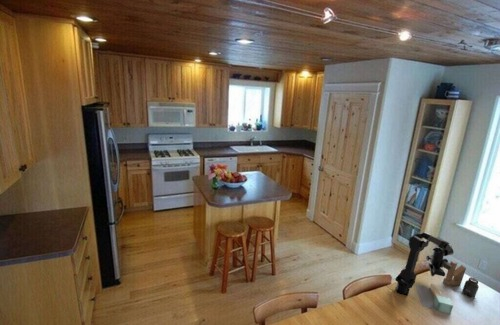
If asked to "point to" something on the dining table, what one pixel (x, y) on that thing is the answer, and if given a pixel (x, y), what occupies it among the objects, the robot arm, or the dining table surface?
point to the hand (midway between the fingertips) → (432, 275)
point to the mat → (425, 296)
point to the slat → (435, 290)
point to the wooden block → (454, 274)
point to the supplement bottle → (470, 287)
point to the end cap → (443, 304)
